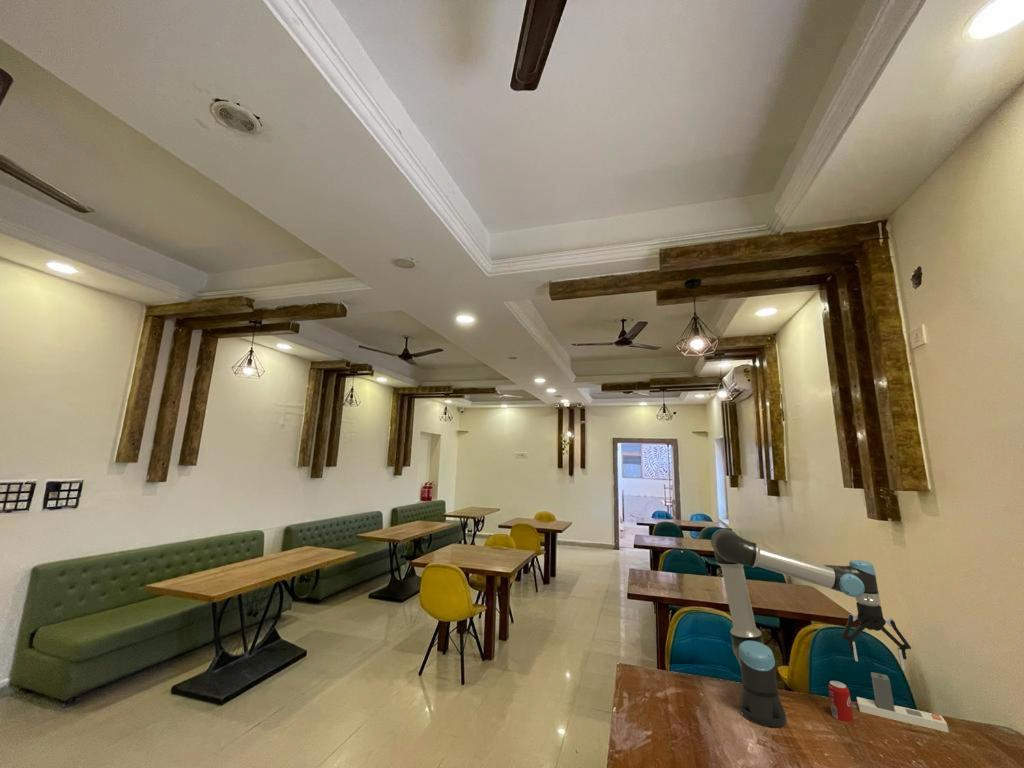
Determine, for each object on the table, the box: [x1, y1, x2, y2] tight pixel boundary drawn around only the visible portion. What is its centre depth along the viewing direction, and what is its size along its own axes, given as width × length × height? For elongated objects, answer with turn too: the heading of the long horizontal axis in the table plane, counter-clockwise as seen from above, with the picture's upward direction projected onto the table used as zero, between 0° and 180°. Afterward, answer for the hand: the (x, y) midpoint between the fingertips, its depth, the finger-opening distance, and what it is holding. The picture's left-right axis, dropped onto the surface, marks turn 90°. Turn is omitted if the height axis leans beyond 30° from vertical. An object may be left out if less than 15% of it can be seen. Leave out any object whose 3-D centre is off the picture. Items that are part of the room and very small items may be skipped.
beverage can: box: [827, 680, 854, 724], centre depth 154 cm, size 6×6×12 cm
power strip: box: [851, 696, 950, 733], centre depth 154 cm, size 27×6×4 cm, turn 58°
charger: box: [870, 671, 895, 711], centre depth 156 cm, size 5×5×13 cm
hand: (879, 664), depth 158 cm, fingers open, 13 cm apart
